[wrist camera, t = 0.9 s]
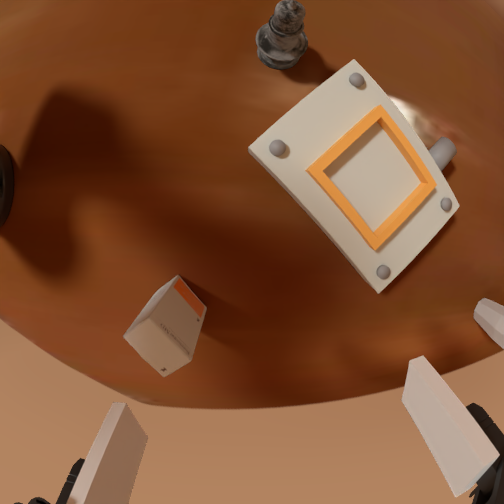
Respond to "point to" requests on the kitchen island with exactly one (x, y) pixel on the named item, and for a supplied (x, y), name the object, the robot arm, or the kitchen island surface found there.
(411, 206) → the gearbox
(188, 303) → the skincare box
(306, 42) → the chess piece
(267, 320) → the kitchen island surface
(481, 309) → the low poly bottle
